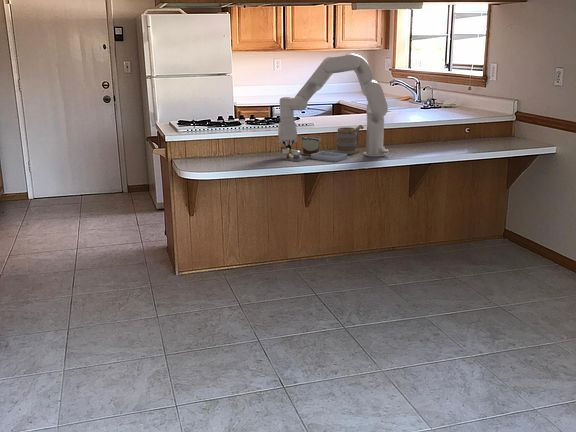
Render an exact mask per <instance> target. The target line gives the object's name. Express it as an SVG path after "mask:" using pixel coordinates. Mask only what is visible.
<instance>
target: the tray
mask: <svg viewBox="0 0 576 432" xmlns="http://www.w3.org/2000/svg"><path fill="white" fill-rule="evenodd" d="M310 157H311V159H310V160H318V161H324V162H326V161H327V162H333V163H336V162H340V161H344V160H347V159H348V154H341V153H335V152H332V151H323V150H322V151H319V152H318V153H314V154H311V155H310Z"/></svg>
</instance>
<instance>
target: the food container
mask: <svg viewBox="0 0 576 432" xmlns="http://www.w3.org/2000/svg"><path fill="white" fill-rule="evenodd" d="M321 139H322V138H321V137H320V136H317V135H303V136H301V138H300V141H301V146H302V154H303V155H306V156H311V154H314V153H318V152H320V144H321V143H320V142H321V141H322V140H321Z"/></svg>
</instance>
